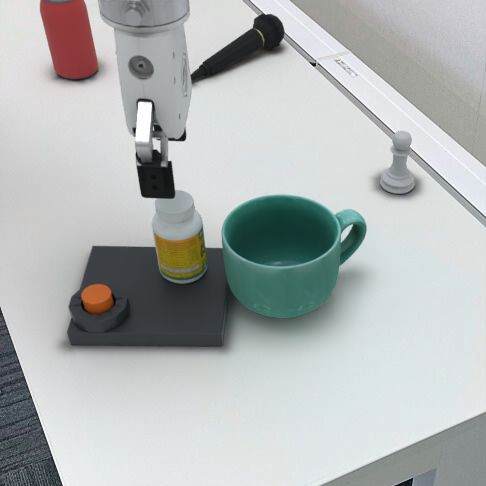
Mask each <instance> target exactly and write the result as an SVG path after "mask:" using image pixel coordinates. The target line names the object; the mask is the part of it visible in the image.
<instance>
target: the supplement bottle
mask: <svg viewBox="0 0 486 486" xmlns="http://www.w3.org/2000/svg"><path fill="white" fill-rule="evenodd" d="M154 208H155V214H154V215H153V217H152V220H151V229H152V234H153V240H154V247H156V252H157V258H158V265H159V269H160V272H161V274H162V276H163V277H164V278H166V279H167V280H169V281H171V282H174V283H179V284H185V283H190V282H194V281H196V280H198V279H199V278H201V277H202V276H203V275H204V273H205V272H206V270H207V259H206V249H205V248H206V241H205V240H206V239H205V232H204V223H203V218H202V216H201V214H200V212H199V211H197V210H196V206H195V200H194V198H193V196H192V195H191V194H190V193H189V192H187V191H184V190H181V189H175V197H174V198H173V199H159V198H155V200H154Z"/></svg>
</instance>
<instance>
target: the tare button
mask: <svg viewBox="0 0 486 486" xmlns="http://www.w3.org/2000/svg"><path fill="white" fill-rule="evenodd" d="M81 297H82V301H83V304H84V308H85V310H86V311H87V312H89V313H92V314H101V313H104V312H107V311H109V310H110V309H111V308H112V306H113V303H114V302H113V298H112V293H111V290H110V288H109V287H107V286H106V285H102V284H95V285H91V286H89V287H87V288H85V289H84V290H83V292H82V295H81Z"/></svg>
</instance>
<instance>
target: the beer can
mask: <svg viewBox="0 0 486 486" xmlns="http://www.w3.org/2000/svg"><path fill="white" fill-rule="evenodd" d="M88 11H89V10H88V7H87V4H86V2H85V0H40V1H39V13H40V17H41V21H42V25H43V29H44V33H45V38H46V42H47V46H48V49H49V55H50V58H51V62H52V65H53V69H54V71H55V73H56V74H57V75H58V76H60V77H62V78H64V79H68V80H82V79H87V78H89V77H91V76H92V75H94V74H95V73H96V72H97V71H98V69H99V61H98V57H97V51H96V47H95V40H94V36H93V31H92V27H91V22H90V17H89V12H88Z"/></svg>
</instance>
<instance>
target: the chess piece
mask: <svg viewBox="0 0 486 486" xmlns="http://www.w3.org/2000/svg"><path fill="white" fill-rule="evenodd" d="M391 139H392V140H391V141H392V145H391V146H390V148H389V150H390V153H392V163H391V164H390V166H389V167H388V168H385V169H384V170H383V171H382V172H381V177H380V179H379V184H380V186H381V187H382V189H383V190H384V191H386V192H388V193H390V194H395V195H402V194H407V193H409V192H411V191H412V190H413V189H414V188H415V185H416V184H415V175H414V173H413V172H412V171H411V170H410V169H409V168H408V166H407V161H408V157H409V155H411V154H412V152H413V150H412V147H410V146H411V145H412V142H413V138H412V135H411V133H410V132H409V131H406V130H398V131H396V132H395V133H394V134H393V136H392V138H391Z"/></svg>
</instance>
